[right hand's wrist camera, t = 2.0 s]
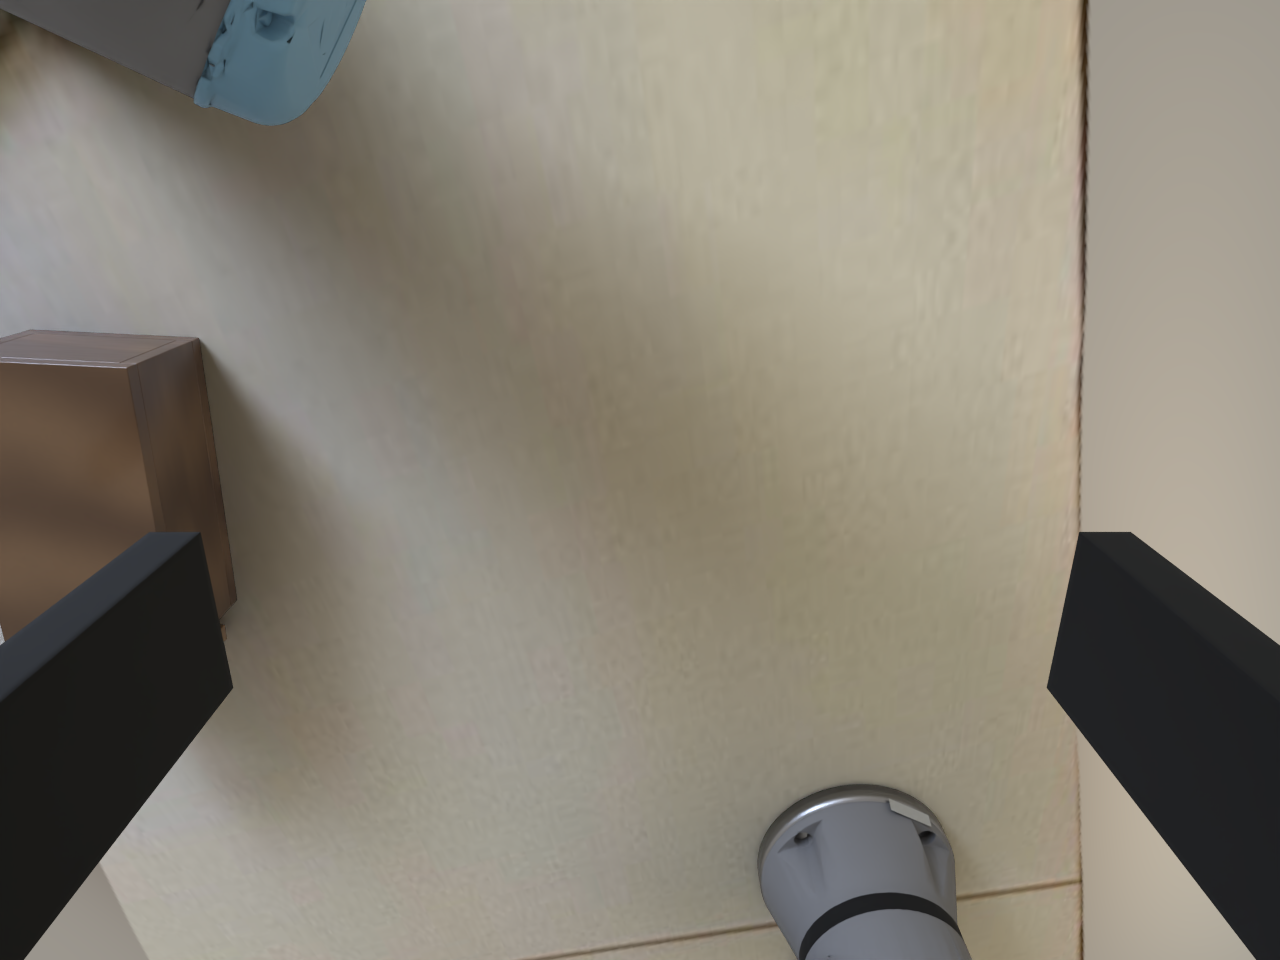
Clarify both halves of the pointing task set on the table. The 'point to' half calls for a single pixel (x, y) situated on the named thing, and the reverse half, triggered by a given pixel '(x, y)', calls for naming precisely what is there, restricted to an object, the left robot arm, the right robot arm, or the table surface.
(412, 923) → the table surface
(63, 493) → the cabinet
